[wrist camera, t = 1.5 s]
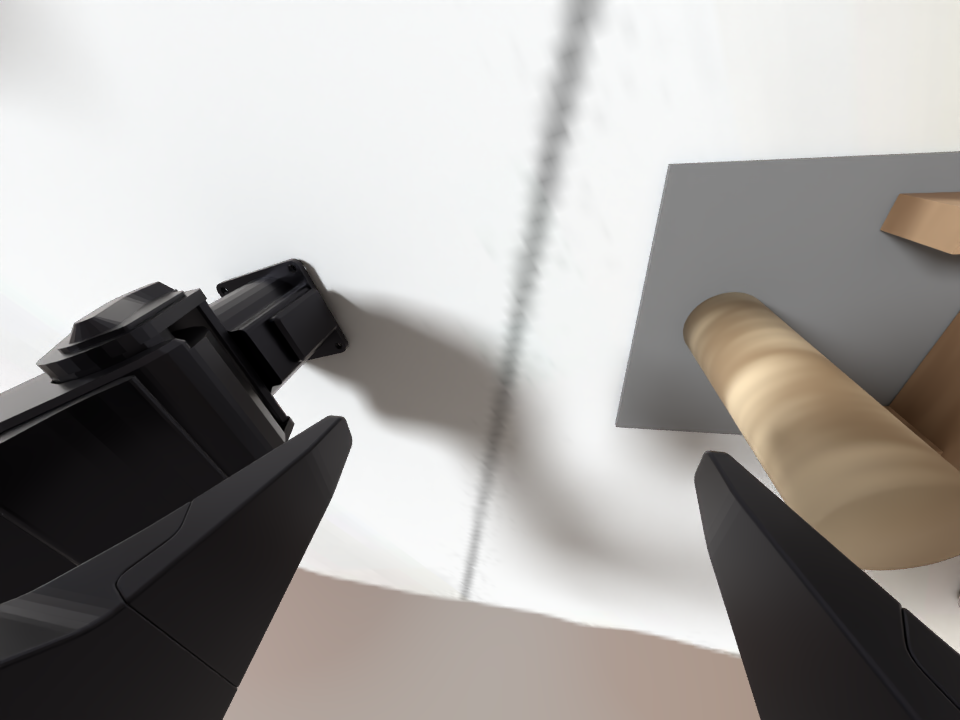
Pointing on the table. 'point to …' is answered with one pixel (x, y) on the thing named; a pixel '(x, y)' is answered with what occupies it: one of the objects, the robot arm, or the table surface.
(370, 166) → the table surface
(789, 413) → the dowel
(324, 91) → the table surface
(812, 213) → the rubber mat
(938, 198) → the cradle block
